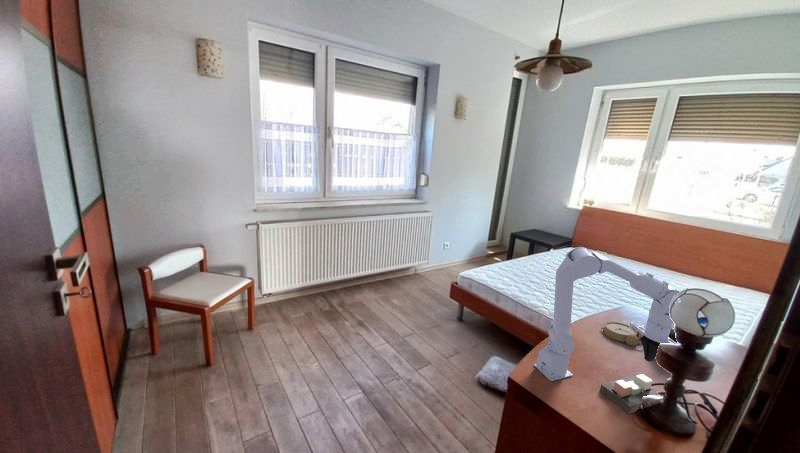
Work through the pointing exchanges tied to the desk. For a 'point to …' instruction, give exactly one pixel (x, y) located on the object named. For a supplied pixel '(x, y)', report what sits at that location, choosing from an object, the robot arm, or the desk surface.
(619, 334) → the alarm clock
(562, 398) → the desk surface
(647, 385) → the white cube
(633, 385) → the pale green cube
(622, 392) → the peach cube
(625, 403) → the console
